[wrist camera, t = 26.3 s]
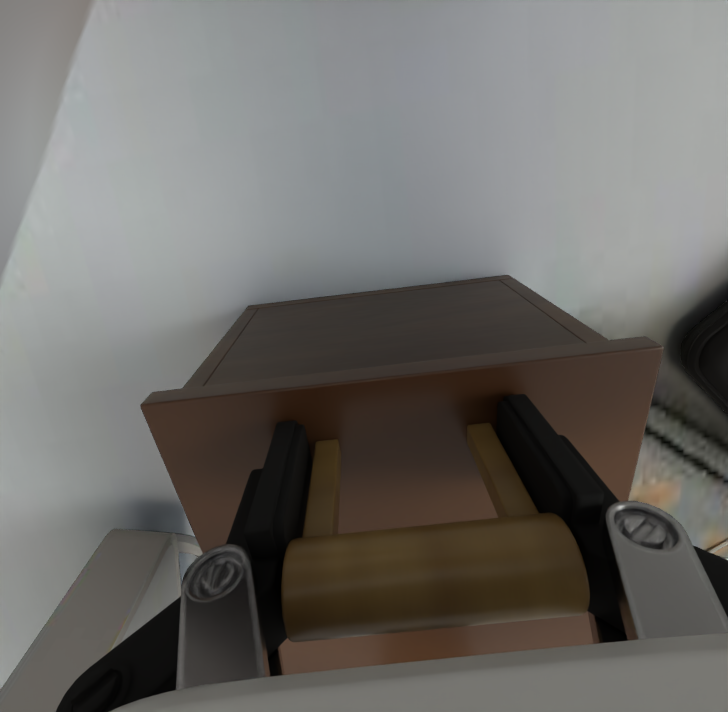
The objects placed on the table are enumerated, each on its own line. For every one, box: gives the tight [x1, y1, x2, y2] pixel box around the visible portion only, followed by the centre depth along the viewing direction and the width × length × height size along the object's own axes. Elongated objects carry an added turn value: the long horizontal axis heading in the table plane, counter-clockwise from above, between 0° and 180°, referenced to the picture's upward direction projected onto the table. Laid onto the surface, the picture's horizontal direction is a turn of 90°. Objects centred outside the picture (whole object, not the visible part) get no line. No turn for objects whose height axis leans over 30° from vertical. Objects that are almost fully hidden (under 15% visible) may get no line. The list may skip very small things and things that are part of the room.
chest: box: [182, 275, 608, 389], centre depth 20 cm, size 16×15×11 cm
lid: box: [141, 336, 664, 675], centre depth 12 cm, size 16×15×6 cm
